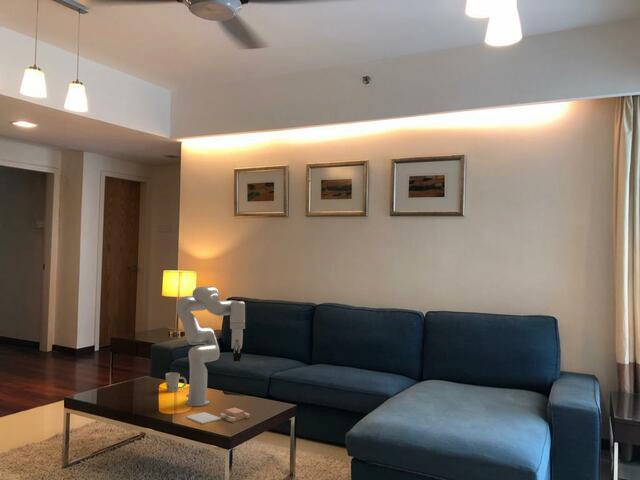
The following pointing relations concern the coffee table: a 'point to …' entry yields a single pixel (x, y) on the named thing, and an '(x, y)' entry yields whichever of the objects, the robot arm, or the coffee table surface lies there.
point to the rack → (232, 419)
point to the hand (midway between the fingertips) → (237, 359)
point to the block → (235, 413)
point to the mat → (203, 418)
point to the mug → (173, 381)
